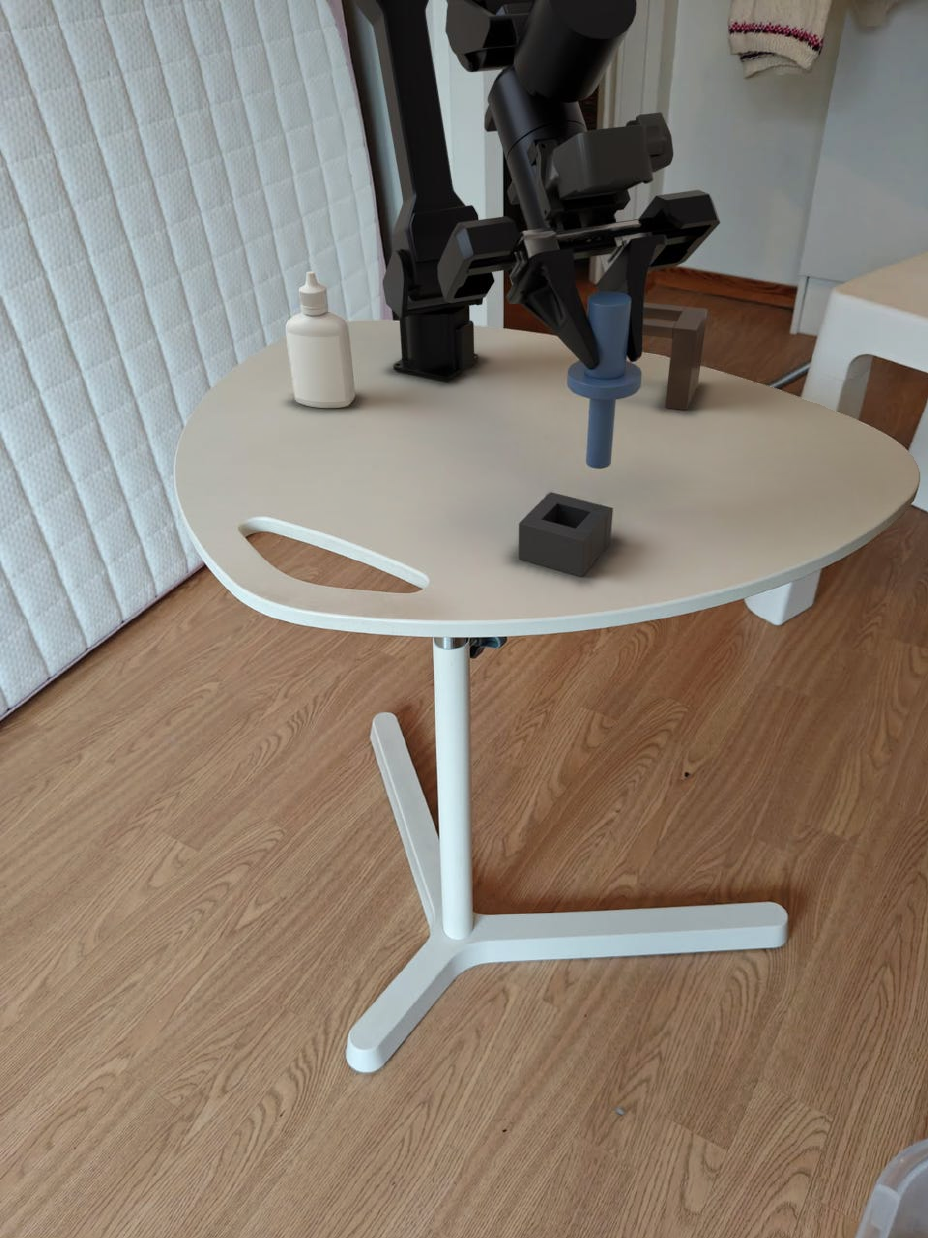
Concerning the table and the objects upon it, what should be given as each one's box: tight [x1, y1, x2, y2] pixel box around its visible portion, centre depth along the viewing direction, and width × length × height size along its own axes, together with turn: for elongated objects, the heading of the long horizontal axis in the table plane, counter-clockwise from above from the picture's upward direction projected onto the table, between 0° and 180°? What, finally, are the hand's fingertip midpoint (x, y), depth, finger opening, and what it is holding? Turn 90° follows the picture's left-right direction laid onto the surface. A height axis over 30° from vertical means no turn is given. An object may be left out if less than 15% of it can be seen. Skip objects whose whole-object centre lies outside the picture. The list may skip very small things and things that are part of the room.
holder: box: [518, 491, 614, 578], centre depth 70 cm, size 5×5×3 cm
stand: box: [643, 302, 708, 411], centre depth 90 cm, size 8×6×8 cm
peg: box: [566, 291, 643, 470], centre depth 67 cm, size 5×5×12 cm
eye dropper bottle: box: [285, 270, 356, 409], centre depth 89 cm, size 4×6×12 cm
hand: (615, 363), depth 65 cm, fingers closed on peg, 3 cm apart
